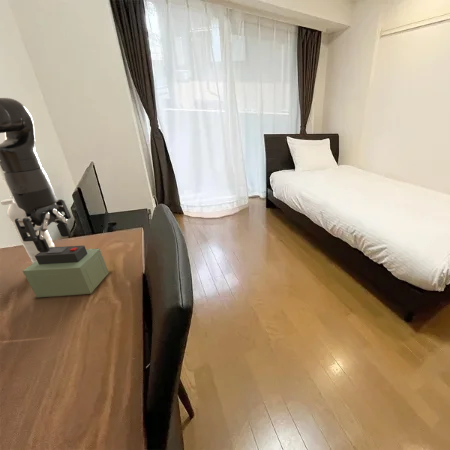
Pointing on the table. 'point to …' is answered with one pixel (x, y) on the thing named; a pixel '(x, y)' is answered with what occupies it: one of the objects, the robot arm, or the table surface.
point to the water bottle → (30, 247)
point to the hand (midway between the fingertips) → (56, 243)
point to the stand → (67, 276)
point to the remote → (61, 255)
